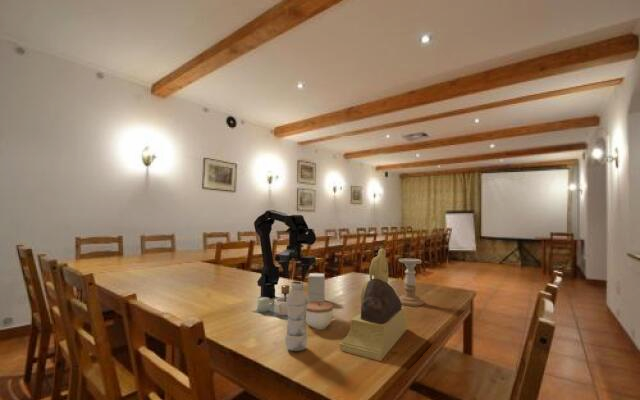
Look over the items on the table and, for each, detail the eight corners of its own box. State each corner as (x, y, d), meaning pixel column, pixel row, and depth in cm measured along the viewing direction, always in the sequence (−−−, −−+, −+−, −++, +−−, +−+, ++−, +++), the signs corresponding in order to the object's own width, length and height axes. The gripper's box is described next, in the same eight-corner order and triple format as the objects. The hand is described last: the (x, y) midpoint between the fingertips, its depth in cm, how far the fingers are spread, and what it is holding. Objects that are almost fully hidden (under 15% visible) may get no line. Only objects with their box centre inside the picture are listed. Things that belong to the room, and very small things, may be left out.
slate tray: (251, 313, 125) (251, 311, 125) (275, 303, 139) (275, 302, 139) (295, 323, 114) (295, 321, 114) (316, 311, 128) (316, 310, 128)
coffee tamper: (275, 309, 124) (275, 286, 125) (283, 305, 129) (284, 283, 130) (286, 311, 121) (286, 288, 122) (294, 308, 126) (295, 285, 127)
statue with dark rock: (372, 323, 116) (373, 244, 118) (406, 329, 110) (406, 246, 111) (339, 350, 92) (340, 250, 94) (380, 361, 86) (380, 254, 87)
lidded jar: (311, 334, 104) (312, 306, 105) (299, 324, 114) (299, 298, 114) (338, 329, 109) (338, 302, 110) (324, 319, 119) (324, 295, 119)
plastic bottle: (285, 345, 95) (286, 280, 96) (306, 344, 96) (307, 280, 97) (284, 354, 89) (286, 285, 90) (307, 354, 89) (308, 285, 90)
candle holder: (427, 306, 138) (427, 261, 139) (400, 306, 138) (400, 261, 139) (419, 299, 150) (419, 258, 151) (394, 298, 150) (394, 257, 151)
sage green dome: (254, 311, 126) (255, 299, 126) (262, 308, 130) (263, 296, 130) (264, 313, 123) (264, 301, 123) (271, 310, 127) (272, 298, 128)
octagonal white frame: (268, 314, 123) (268, 301, 123) (282, 307, 131) (283, 296, 131) (284, 317, 118) (285, 304, 119) (299, 311, 127) (299, 299, 127)
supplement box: (324, 299, 147) (325, 273, 147) (323, 304, 139) (323, 276, 140) (309, 299, 147) (310, 272, 148) (307, 303, 140) (308, 275, 141)
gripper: (267, 242, 134) (266, 278, 133) (301, 245, 124) (301, 284, 123) (283, 241, 143) (282, 274, 142) (316, 243, 133) (315, 279, 133)
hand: (294, 278), depth 135 cm, fingers open, 9 cm apart
